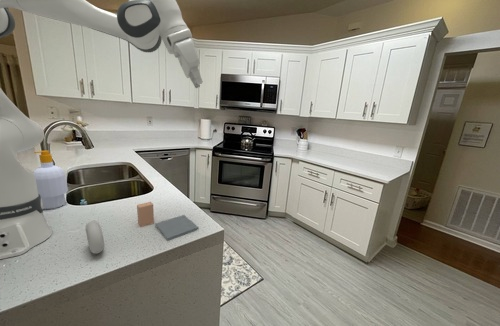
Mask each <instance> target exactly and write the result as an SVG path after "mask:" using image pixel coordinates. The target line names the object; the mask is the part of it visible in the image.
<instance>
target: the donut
mask: <svg viewBox="0 0 500 326" xmlns="http://www.w3.org/2000/svg"><path fill="white" fill-rule="evenodd" d="M85 234H86V240H87V244H88V248H89V251H90V252H91V253H92V254H94V255H96V254H100V253H101V252H102V251H103V250H104V248H105V240H104V234H103V231H102V227H101V225H100V222H98V221H97V220H91V221H89V222H88V223H86V225H85Z"/></svg>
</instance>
